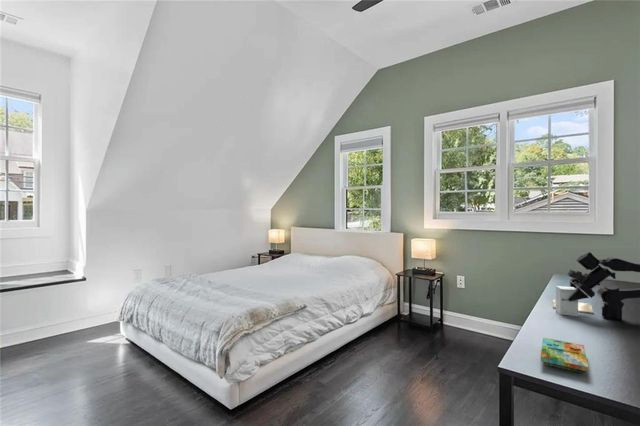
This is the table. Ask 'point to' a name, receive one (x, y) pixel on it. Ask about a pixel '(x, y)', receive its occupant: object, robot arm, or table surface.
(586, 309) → the gold metal board
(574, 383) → the table surface
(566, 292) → the supplement box
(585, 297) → the robot arm
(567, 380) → the table surface
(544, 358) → the puzzle game
